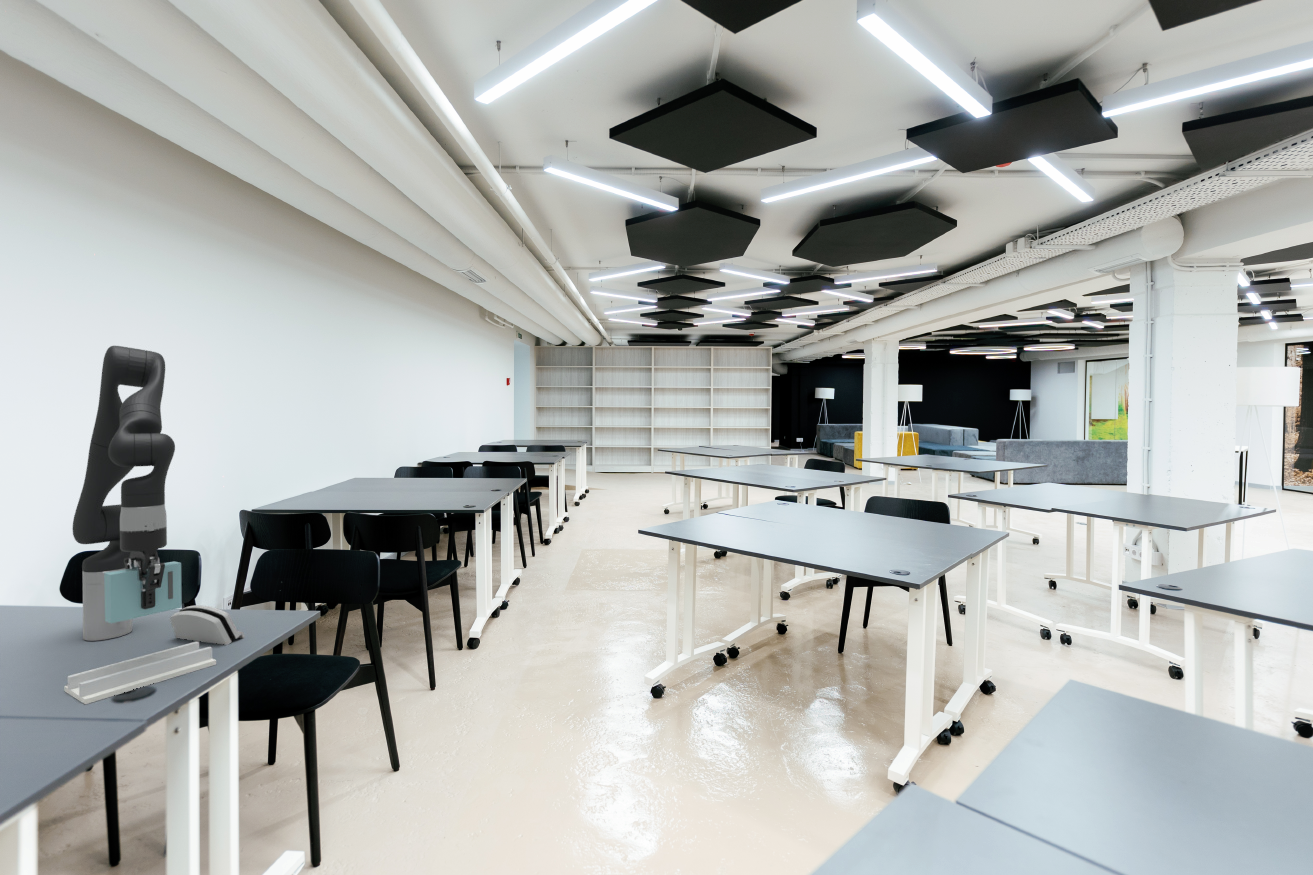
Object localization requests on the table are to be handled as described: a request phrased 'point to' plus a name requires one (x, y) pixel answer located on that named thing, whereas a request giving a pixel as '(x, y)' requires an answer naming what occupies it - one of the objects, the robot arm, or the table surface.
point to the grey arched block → (204, 625)
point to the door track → (138, 672)
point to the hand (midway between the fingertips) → (144, 606)
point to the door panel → (127, 593)
